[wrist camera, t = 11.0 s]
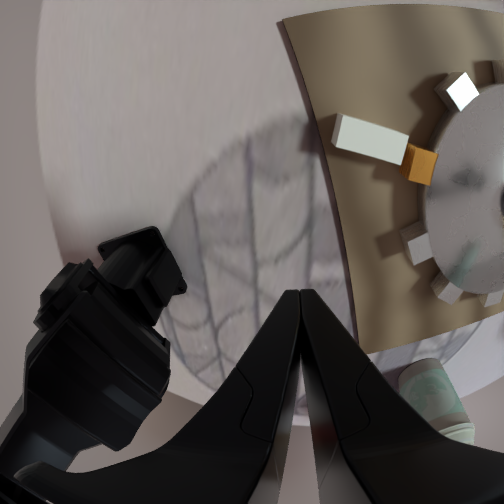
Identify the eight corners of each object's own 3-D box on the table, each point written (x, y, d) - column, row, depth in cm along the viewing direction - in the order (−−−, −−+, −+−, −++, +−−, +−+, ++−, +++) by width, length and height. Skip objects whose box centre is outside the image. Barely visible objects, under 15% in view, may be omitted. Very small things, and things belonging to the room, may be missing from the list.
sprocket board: (359, 352, 28) (360, 355, 28) (282, 20, 14) (282, 19, 14) (560, 281, 21) (562, 283, 21) (566, 33, 7) (568, 33, 7)
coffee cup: (455, 342, 27) (489, 428, 17) (444, 381, 31) (466, 455, 21) (388, 362, 29) (409, 458, 19) (386, 398, 33) (400, 478, 23)
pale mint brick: (331, 141, 18) (335, 147, 16) (337, 112, 17) (343, 115, 15) (391, 158, 18) (400, 165, 16) (398, 131, 17) (409, 136, 15)
